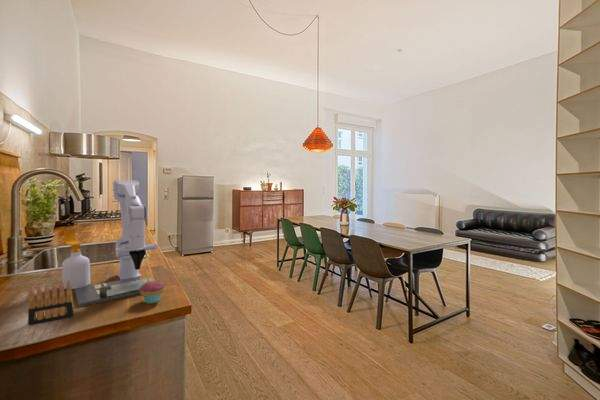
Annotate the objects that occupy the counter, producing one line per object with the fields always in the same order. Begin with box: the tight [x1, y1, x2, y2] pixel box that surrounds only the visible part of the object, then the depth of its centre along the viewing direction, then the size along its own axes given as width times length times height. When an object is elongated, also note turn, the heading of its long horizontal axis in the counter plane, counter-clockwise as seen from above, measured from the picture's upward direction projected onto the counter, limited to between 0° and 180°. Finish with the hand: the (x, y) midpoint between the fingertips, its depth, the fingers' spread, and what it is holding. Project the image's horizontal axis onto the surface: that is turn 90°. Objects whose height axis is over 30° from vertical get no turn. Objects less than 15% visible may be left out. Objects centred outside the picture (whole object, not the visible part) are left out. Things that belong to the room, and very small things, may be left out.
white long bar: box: [99, 276, 155, 298], centre depth 110 cm, size 18×4×3 cm, turn 135°
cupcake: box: [139, 269, 166, 304], centre depth 104 cm, size 9×8×12 cm
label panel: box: [74, 277, 141, 308], centre depth 112 cm, size 18×22×2 cm
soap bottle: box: [61, 226, 91, 290], centre depth 117 cm, size 9×9×25 cm
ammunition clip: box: [27, 280, 75, 327], centre depth 89 cm, size 11×2×12 cm, turn 125°
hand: (137, 269), depth 115 cm, fingers closed
